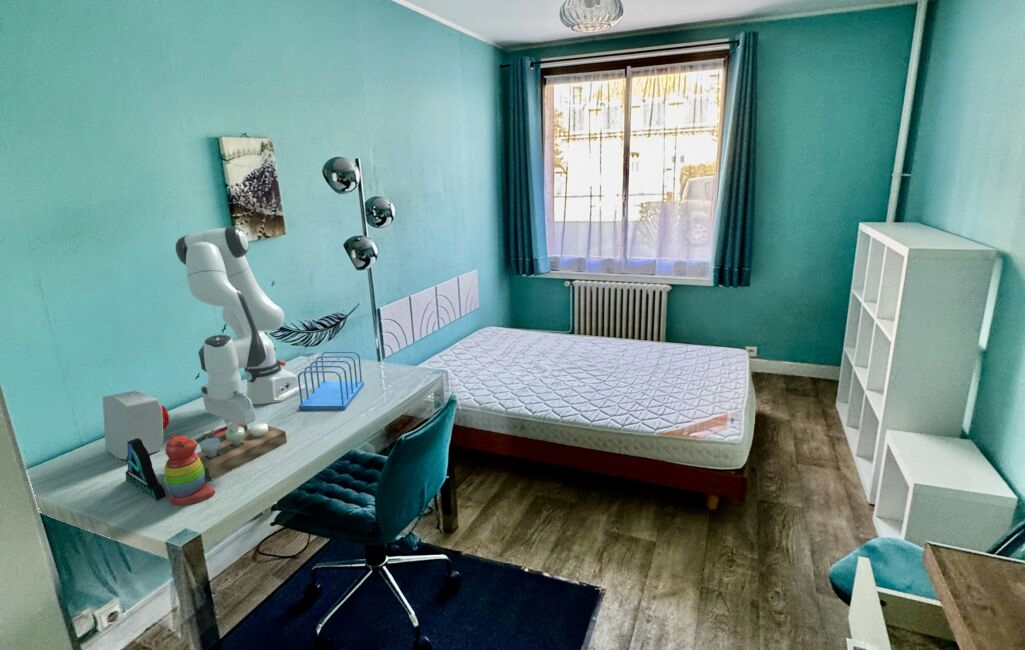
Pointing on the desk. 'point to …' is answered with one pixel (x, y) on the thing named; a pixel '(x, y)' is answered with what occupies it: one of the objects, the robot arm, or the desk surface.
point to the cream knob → (259, 430)
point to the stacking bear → (185, 472)
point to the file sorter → (331, 386)
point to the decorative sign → (142, 470)
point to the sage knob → (235, 436)
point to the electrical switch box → (133, 422)
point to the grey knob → (210, 447)
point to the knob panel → (241, 452)
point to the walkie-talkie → (218, 432)
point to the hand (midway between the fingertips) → (233, 430)
